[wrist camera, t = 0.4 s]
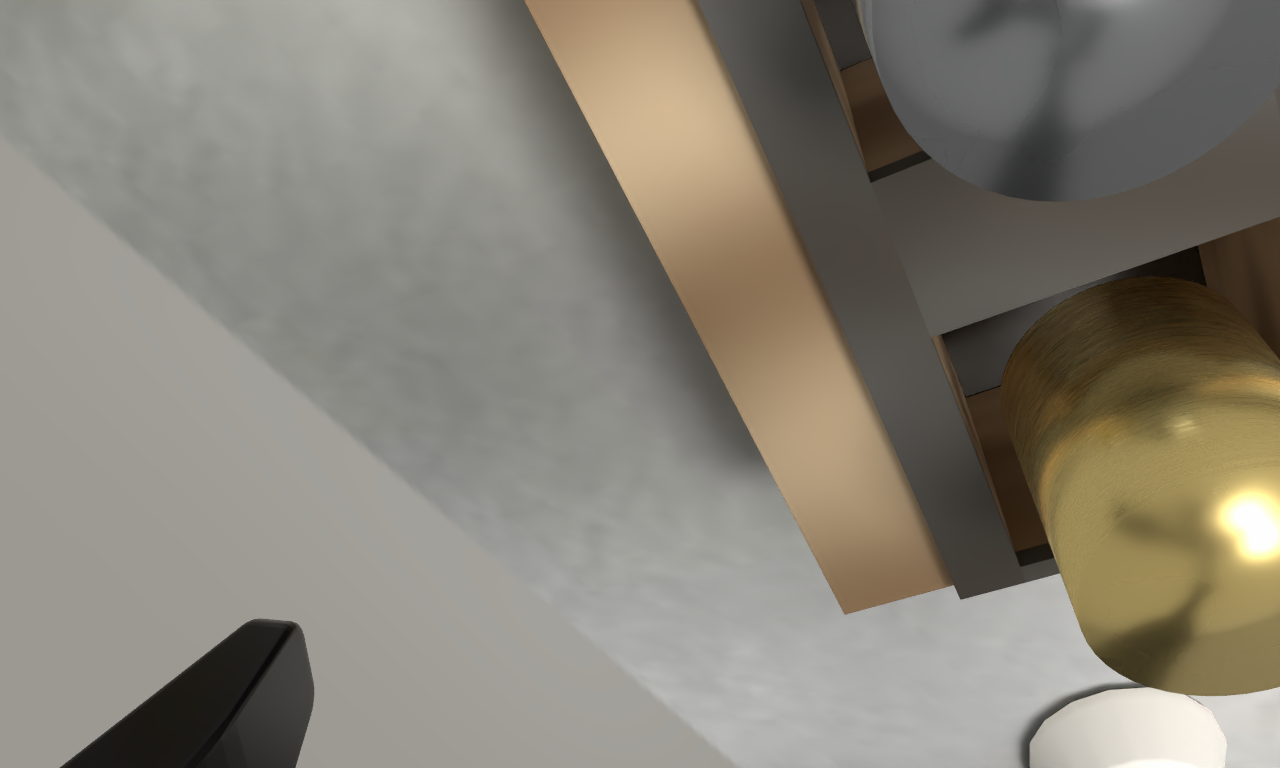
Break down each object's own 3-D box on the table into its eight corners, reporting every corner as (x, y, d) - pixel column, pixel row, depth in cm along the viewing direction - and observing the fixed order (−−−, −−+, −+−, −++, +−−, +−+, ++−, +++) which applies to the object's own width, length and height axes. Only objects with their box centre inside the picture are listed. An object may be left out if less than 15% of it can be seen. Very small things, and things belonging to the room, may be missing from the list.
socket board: (1399, 273, 20) (1585, 433, 16) (826, 457, 24) (846, 629, 20) (1300, -571, 14) (1568, -704, 9) (536, -143, 18) (466, -91, 13)
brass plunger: (1274, 435, 17) (1433, 653, 13) (1034, 504, 19) (1115, 723, 15) (1233, 238, 15) (1405, 423, 11) (971, 329, 17) (1042, 525, 13)
